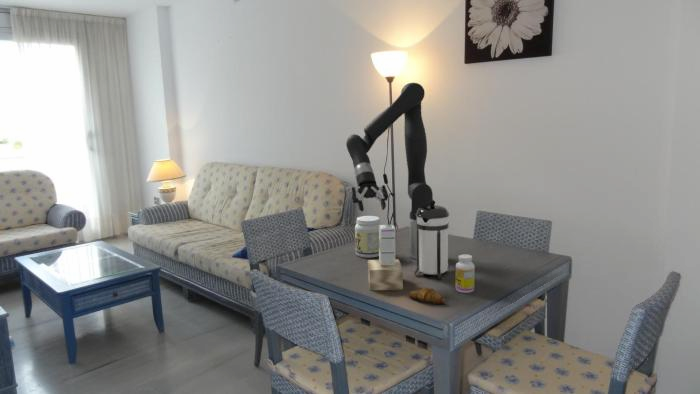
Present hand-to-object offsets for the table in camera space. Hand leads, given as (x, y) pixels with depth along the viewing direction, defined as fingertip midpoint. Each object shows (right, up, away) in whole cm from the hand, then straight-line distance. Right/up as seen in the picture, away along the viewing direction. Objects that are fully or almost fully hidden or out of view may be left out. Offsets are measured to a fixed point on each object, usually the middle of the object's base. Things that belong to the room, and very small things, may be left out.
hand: (373, 209), depth 196 cm
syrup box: (+5, -20, -5) cm, 22 cm away
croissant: (+18, -31, -22) cm, 42 cm away
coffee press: (+24, -26, +6) cm, 36 cm away
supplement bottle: (+33, -29, -13) cm, 46 cm away
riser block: (+4, -28, -5) cm, 29 cm away
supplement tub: (0, -21, +33) cm, 39 cm away
